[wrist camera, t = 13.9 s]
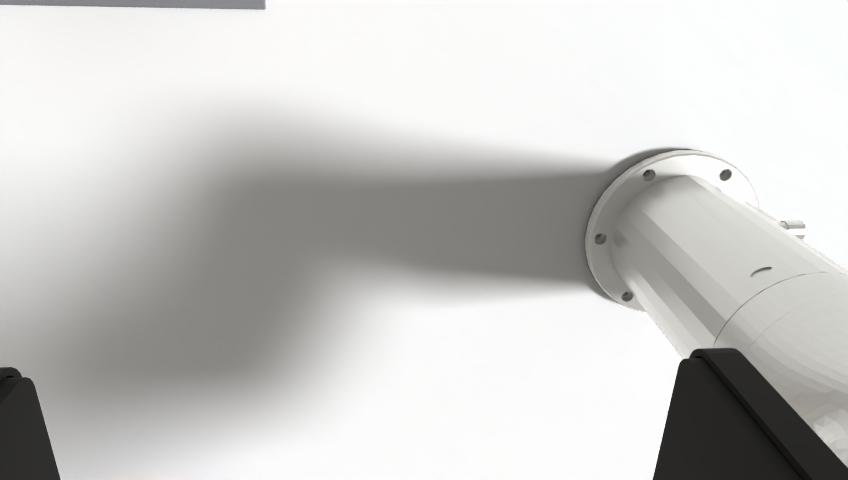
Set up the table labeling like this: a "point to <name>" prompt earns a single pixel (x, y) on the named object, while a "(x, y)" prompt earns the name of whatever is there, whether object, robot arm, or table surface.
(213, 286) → the table surface
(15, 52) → the table surface
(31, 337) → the table surface
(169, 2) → the felt pad
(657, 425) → the table surface
